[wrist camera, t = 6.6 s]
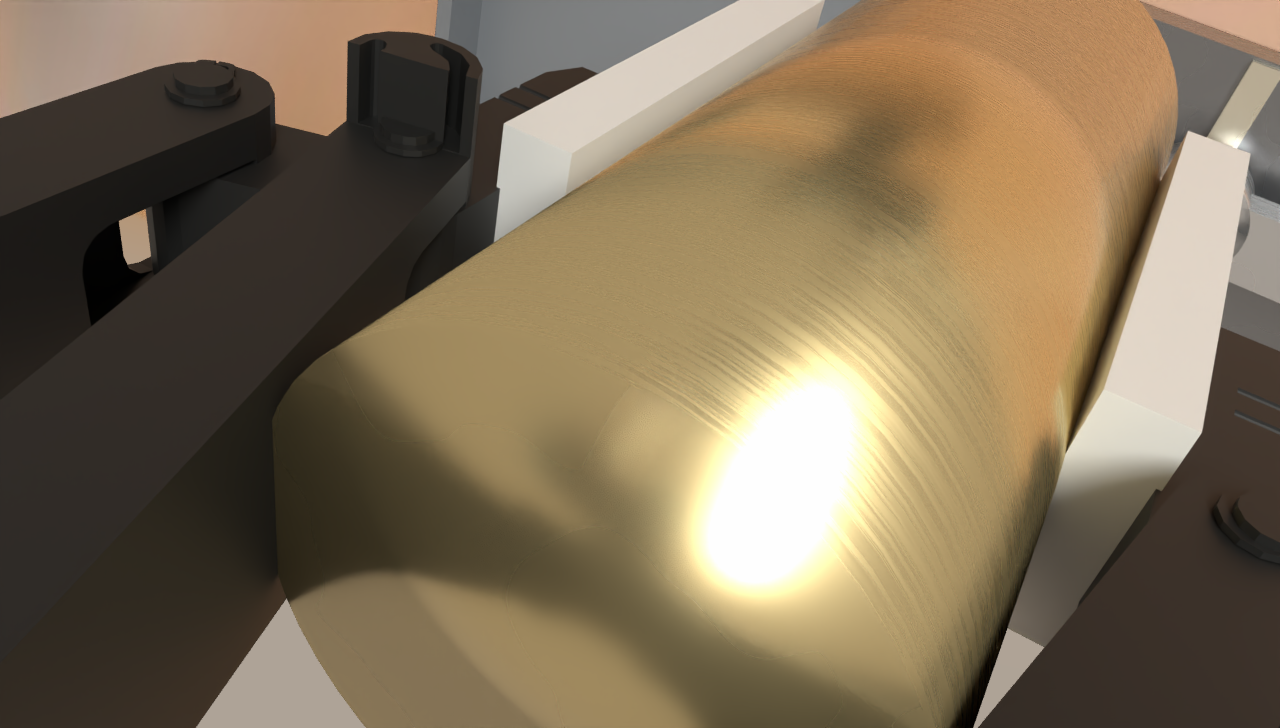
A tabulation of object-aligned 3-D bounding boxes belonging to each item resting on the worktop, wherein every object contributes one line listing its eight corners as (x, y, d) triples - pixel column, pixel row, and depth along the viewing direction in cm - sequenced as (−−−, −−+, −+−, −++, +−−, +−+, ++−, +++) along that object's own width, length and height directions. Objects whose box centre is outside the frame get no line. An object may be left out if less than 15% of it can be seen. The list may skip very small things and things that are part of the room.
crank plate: (1058, -29, 30) (1048, -19, 29) (1689, 202, 26) (1704, 223, 25) (907, 305, 38) (894, 323, 37) (1376, 527, 33) (1377, 554, 32)
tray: (514, -330, 34) (466, -329, 32) (1080, -141, 29) (1062, -128, 27) (460, 158, 45) (422, 179, 43) (862, 357, 40) (839, 390, 38)
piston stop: (889, -107, 15) (247, 189, 6) (1252, 11, 14) (1103, 624, 5) (793, 200, 18) (271, 696, 9) (1081, 323, 17) (794, 1054, 8)
